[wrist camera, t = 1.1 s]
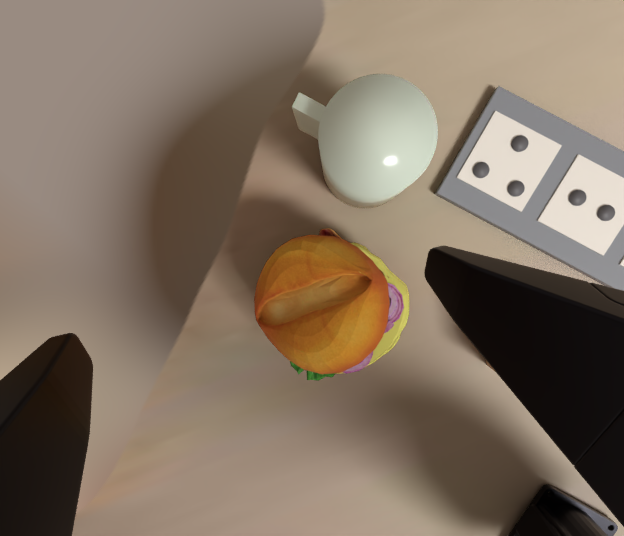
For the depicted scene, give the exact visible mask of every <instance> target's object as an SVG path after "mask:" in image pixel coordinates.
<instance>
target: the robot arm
mask: <svg viewBox="0 0 624 536" xmlns="http://www.w3.org/2000/svg"><path fill="white" fill-rule="evenodd" d="M425 278H426V280H427V282H428V283H429V285H430V286H431V288H432V289H433V291H434V292H435V294H436V295H437V297H438V298H439V300H440V301H441V303H442V304H443V306H444V307H445V309H446V310H447V312H448V313H449V315H450V316H451V317H452V319H453V320H454V321H455V323H456V324H457V325H458V327H459V328H460V329H461V330H462V331H463V333H464V334H465V335H466V336H467V337H468V339H469V340H470V341H471V342H472V344H473V345H474V346H475V347H476V348H477V350H478V351H479V352H480V353H481V354H482V356H483V357H484V358H485V359H486V360H487V362H488V363H489V364H490V365H491V366H492V368H493V369H494V370H495V371H496V373H497V374H498V375H499V376H500V377H501V379H502V380H503V381H504V382H505V383H506V385H507V386H508V387H509V388H510V389H511V391H512V392H513V393H514V394H515V396H516V397H517V398H518V399H519V400H520V402H521V403H522V404H523V405H524V406H525V408H526V409H527V410H528V411H529V412H530V414H531V415H532V416H533V417H534V419H535V420H536V421H537V422H538V423H539V425H540V426H541V427H542V428H543V429H544V431H545V432H546V433H547V434H548V435H549V437H550V438H551V439H552V440H553V441H554V443H555V444H556V445H557V446H558V448H559V449H560V450H561V451H562V452H563V454H564V455H565V456H566V457H567V458H568V460H569V461H570V462H571V463H572V464H573V465H574V467H575V469H576V470H577V471H578V472H579V473H580V475H581V476H582V477H583V478H584V479H585V481H586V482H587V483H588V484H589V485H590V487H591V488H592V489H593V490H594V492H595V493H596V494H597V495H598V496H599V498H600V499H601V500H602V501H603V502H604V504H605V505H606V506H607V507H608V508H609V510H610V511H611V512H612V513H613V515H614V516H615V517H616V518H617V519H618V521H619V522H620V523H621V524H622V525H623V527H624V291H623V290H619V289H615V288H611V287H607V286H603V285H599V284H595V283H588V282H587V281H583V280H579V279H575V278H571V277H567V276H563V275H559V274H555V273H551V272H547V271H543V270H539V269H535V268H531V267H527V266H523V265H519V264H515V263H511V262H507V261H503V260H499V259H496V258H492V257H488V256H484V255H480V254H476V253H472V252H468V251H464V250H460V249H456V248H452V247H448V246H439V247H435V248H432V249H430V251H429V253H428V257H427V262H426V267H425ZM92 379H93V364H92V360H91V358H90V356H89V354H88V353H87V351H86V350H85V348H84V346H83V345H82V343H81V341H80V340H79V338H78V337H77V336H76V335H75V334H73V333H68V334H63V335H59V336H55V337H51V338H49V339H48V340H47V341H46V342H44V343H43V344H42V345H41V346H40V347H38V348H37V349H36V350H35V351H34V352H33V353H32V354H30V355H29V356H28V357H27V358H26V359H25V360H24V361H22V362H21V363H20V364H19V365H18V366H17V367H15V368H14V369H13V370H12V371H11V372H10V373H8V374H7V375H6V376H5V377H4V378H3V379H1V380H0V536H72V531H73V526H74V520H75V515H76V509H77V503H78V498H79V492H80V487H81V481H82V475H83V469H84V464H85V458H86V452H87V447H88V440H89V434H90V419H91V400H92ZM549 491H550V492H549ZM548 492H549V493H548ZM617 529H618V526H617V524H616V523H615V522H614V521H613V520H611V519H610V518H608V517H606V516H605V515H603V514H601V513H599V512H597V511H596V510H594V509H592V508H590V507H589V506H587V505H585V504H583V503H581V502H580V501H578V500H576V499H574V498H572V497H571V496H569V495H567V494H565V493H563V492H562V491H560V490H558V489H556V488H554V487H553V486H551V485H544V486H543V487H542V488H541V490H540V491H539V492H538V494H537V495H536V497H535V498H534V500H533V501H532V503H531V504H530V506H529V507H528V509H527V510H526V511H525V513H524V514H523V516H522V517H521V519H520V520H519V522H518V523H517V525H516V526H515V528H514V529H513V530H512V532H511V533H510V535H509V536H613V535H614V534H615V533H616V531H617Z"/></svg>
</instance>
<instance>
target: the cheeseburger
mask: <svg viewBox="0 0 624 536" xmlns="http://www.w3.org/2000/svg"><path fill="white" fill-rule="evenodd" d="M254 301H255V316H256V320H257V322H258V324H259V326H260V327H261V329H262V330H263V332H264V333H265V335H266V336H267V338H268V339H269V340H270V341H271V343H272V344H273V345H274V346H275V347H276V348H277V349H278V351H280V352H281V353H282V354H283V355H284V356H285V357H286V358H287V359H288V360H290V363H291V366H292V367H293V368H294V369H295V370H296V371H297V372H298V374H300V373H301V372H302V371H303V370H307V380H318V381H319V380H320V379H322V378H324V377H333V376H334V375H335V374H341V373H351V372H355V371H359V370H361V369H362V368H364V367H366V366H368V365H370V364H372V363H374V362H375V361H376V360H378V359H379V358H380V357H381V356H383V355H384V354H386V353H388V352H389V351H390V350H391V349H392V348H393V347H394V346H395V344H396V343H397V341H398V340H399V338H400V334H401V331H402V330H403V328H404V327H405V326H406V323H407V320H408V316H409V293H408V289H407V286H406V284H405V283H404V282H402V281H401V280H400V279H399V278H398V277H397V276H395V275H394V274H393V273H392V272H391V271H390V270H389V269H388V268H387V267H386V265H385V264H384V263H383V261H382V260H381V259H380V258H379V257H377V256H375V255H373V254H372V253H370V252H369V251H368V249H367V248H366V247H365V246H362V245H360V244H357V243H349V242H347V241H346V240H343V239H341V237H340V236H339V235H338V234H337V233H336V232H335V231H334V230H332V229H330V228H326V229H321V230H320V232H319V235H306V236H302V237H297V238H293V239H291V240H289V241H288V242H286V243H285V244H283V245H281V246H280V247H278V248H277V249H276V251H275V252H274V253H273V254H272V255H271V257H270V258H269V259H268V260H267V261H266V263H265V266H264V268H263V270H262V272H261V274H260V277H259V279H258V282H257V286H256V292H255V298H254Z"/></svg>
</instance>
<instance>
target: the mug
mask: <svg viewBox="0 0 624 536" xmlns="http://www.w3.org/2000/svg"><path fill="white" fill-rule="evenodd" d="M292 109H293V112H294V116H295V119H296V122H297V125H298V128H299V130H301V131H303V132H305V133H307V134H308V135H310V136H312V137H314V138H316V139H318V142H319V150H320V157H321V163H322V169H323V174H324V178H325V181H326V184H327V186H328V188H329V189H330V191H331V192H332V193H333V194H334V195H335V197H337V198H338V199H339V200H340V201H342V202H343V203H345V204H347V205H350V206H353V207H357V208H373V207H377V206H380V205H383V204H385V203H387V202H388V201H390V200H391V199H393V198H394V197H395V196H396V195H398V194H399V193H400V192H402V191H403V190H404V189H405V188H407V187H408V186H409V185H411V184H412V183H413V182H414V181H415V180H416V179H418V178H419V177H420V176H421V174H422V173H423V172H424V171H425V170H426V168H427V167H428V165H429V164H430V161H431V159H432V157H433V155H434V152H435V149H436V144H437V137H438V128H437V120H436V116H435V113H434V110H433V108H432V106H431V104H430V102H429V100H428V99H427V97H426V96H425V95H424V94H423V93H422V91H421V90H420V89H419V88H417V87H416V86H415V85H414V84H412V83H410V82H409V81H407V80H405V79H403V78H401V77H397V76H394V75H388V74H372V75H367V76H363V77H360V78H357V79H355V80H353V81H351V82H349V83H348V84H346V85H345V86H343V87H342V88H341V89H340V90H339V91H338V92H337V93H336V94H335V95H334V96H333V97H332V98H331V100H330V101H329V103H328V104H327V106H324V105H322V104H320V103H318V102H317V101H315V100H313V99H311V98H309V97H307V96H305V95H303V94H302V93H300V92H299V94H298V96H297V97H296V99H295V101H294V103H293V105H292Z"/></svg>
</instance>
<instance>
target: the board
mask: <svg viewBox="0 0 624 536" xmlns="http://www.w3.org/2000/svg"><path fill="white" fill-rule="evenodd" d="M435 195H437V196H439V197H441V198H443V199H445V200H446V201H448V202H450V203H452V204H454V205H456V206H458V207H459V208H461V209H463V210H465V211H467V212H469V213H471V214H473V215H474V216H476V217H478V218H480V219H482V220H484V221H486V222H487V223H489V224H491V225H493V226H495V227H497V228H499V229H501V230H502V231H504V232H506V233H508V234H510V235H512V236H514V237H515V238H517V239H519V240H521V241H523V242H525V243H527V244H528V245H530V246H532V247H534V248H536V249H538V250H540V251H542V252H543V253H545V254H547V255H549V256H551V257H553V258H555V259H556V260H558V261H560V262H562V263H564V264H566V265H568V266H569V267H571V268H573V269H575V270H577V271H579V272H581V273H583V274H584V275H586V276H588V277H590V278H592V279H594V280H596V281H597V282H599V283H601V284H603V285H605V286H607V287H611V288H615V289H619V290H623V291H624V151H622V150H620V149H618V148H616V147H614V146H612V145H611V144H609V143H607V142H605V141H603V140H601V139H599V138H597V137H595V136H593V135H591V134H590V133H588V132H586V131H584V130H582V129H580V128H578V127H576V126H574V125H572V124H570V123H568V122H567V121H565V120H563V119H561V118H559V117H557V116H555V115H553V114H551V113H549V112H547V111H546V110H544V109H542V108H540V107H538V106H536V105H534V104H532V103H530V102H528V101H526V100H524V99H523V98H521V97H519V96H517V95H515V94H513V93H511V92H509V91H507V90H505V89H503V88H502V87H500V86H498V87H497V88H496V89H495V90H494V92H493V94H492V96H491V97H490V99H489V101H488V103H487V104H486V106H485V108H484V110H483V111H482V113H481V115H480V117H479V118H478V120H477V122H476V123H475V125H474V127H473V129H472V130H471V132H470V134H469V136H468V137H467V139H466V141H465V143H464V144H463V146H462V148H461V150H460V151H459V153H458V155H457V156H456V158H455V160H454V162H453V163H452V165H451V167H450V169H449V170H448V172H447V174H446V176H445V177H444V179H443V181H442V183H441V184H440V186H439V188H438V189H437V191H436V193H435Z"/></svg>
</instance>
